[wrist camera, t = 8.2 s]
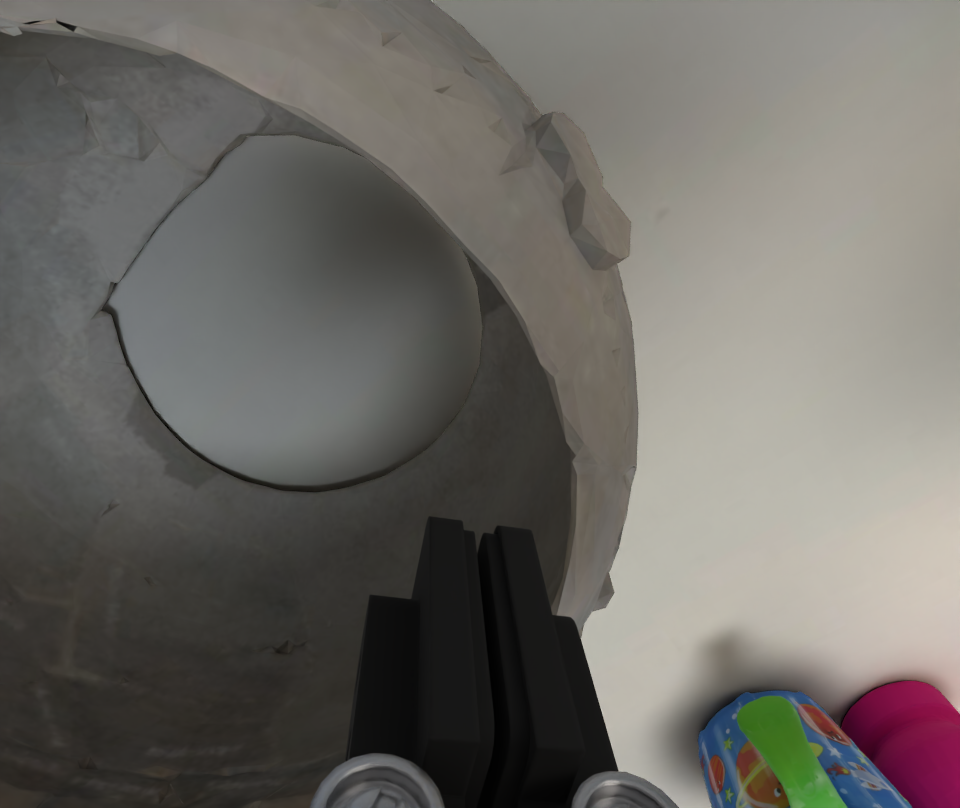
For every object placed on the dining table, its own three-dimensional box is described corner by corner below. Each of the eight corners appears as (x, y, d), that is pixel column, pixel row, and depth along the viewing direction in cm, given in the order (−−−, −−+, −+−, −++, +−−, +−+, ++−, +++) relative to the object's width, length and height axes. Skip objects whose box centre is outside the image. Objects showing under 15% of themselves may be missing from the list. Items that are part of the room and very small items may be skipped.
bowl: (93, -194, 19) (-811, -1049, 5) (687, 220, 25) (1008, 344, 11) (-99, 427, 26) (-688, 776, 12) (402, 627, 32) (386, 1005, 18)
